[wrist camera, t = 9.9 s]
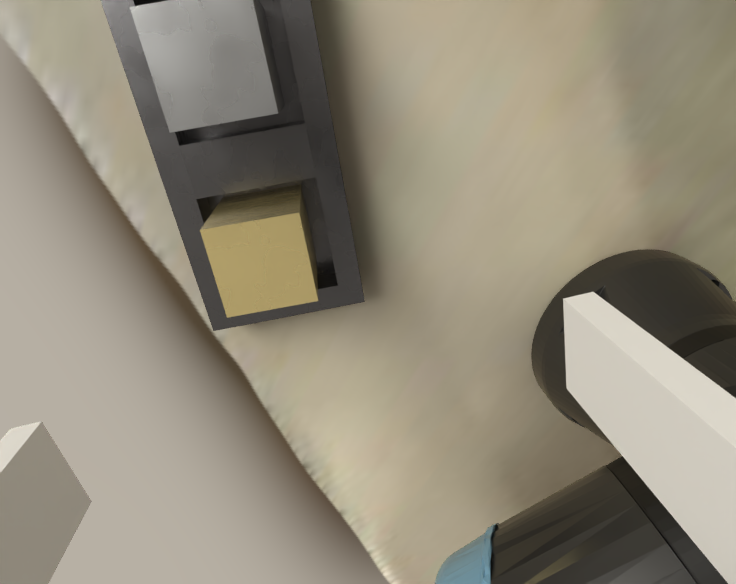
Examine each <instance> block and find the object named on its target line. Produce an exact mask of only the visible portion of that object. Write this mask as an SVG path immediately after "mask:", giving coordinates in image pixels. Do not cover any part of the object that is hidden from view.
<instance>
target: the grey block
mask: <svg viewBox="0 0 736 584" xmlns="http://www.w3.org/2000/svg"><path fill="white" fill-rule="evenodd" d="M130 10H131V13H132V16H133V20H134V23H135V26H136V29H137V32H138V35H139V38H140V41H141V44H142V48H143V51H144V54H145V57H146V60H147V63H148V66H149V69H150V72H151V76H152V79H153V82H154V85H155V88H156V91H157V94H158V97H159V100H160V104H161V107H162V110H163V113H164V116H165V119H166V122H167V125H168V129H169V132H170V133H171V132H177V131H182V130H188V129H194V128H199V127H205V126H210V125H216V124H222V123H227V122H233V121H239V120H244V119H250V118H256V117H261V116H267V115H272V114H278V113H279V112H280V111H281V110H282V108H283V107H284V106H285V102H284V98H283V93H282V88H281V84H280V79H279V75H278V70H277V65H276V61H275V56H274V52H273V47H272V42H271V38H270V33H269V29H268V24H267V19H266V15H265V10H264V8H263V6H262V4H261V3H260V1H259V0H168V1H162V2H157V3H151V4H145V5H139V6H133V7H130Z"/></svg>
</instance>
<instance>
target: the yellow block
mask: <svg viewBox="0 0 736 584" xmlns="http://www.w3.org/2000/svg"><path fill="white" fill-rule="evenodd" d="M200 232H201V236H202V239H203V242H204V245H205V248H206V252H207V255H208V258H209V261H210V264H211V268H212V271H213V274H214V277H215V280H216V284H217V287H218V290H219V293H220V297H221V300H222V303H223V306H224V309H225V313H226V316H227V318H228V317H234V316H239V315H245V314H250V313H255V312H261V311H266V310H272V309H277V308H283V307H288V306H294V305H299V304H305V303H310V302H315V301H318V283H317V259H316V253H315V248H314V243H313V238H312V233H311V229H310V224H309V219H308V214H307V209H306V205H305V200H304V195H303V190H302V185H301V184H298V185H292V186H286V187H281V188H275V189H269V190H263V191H258V192H252V193H246V194H240V195H234V196H229V197H223V198H222V199H221V201H220V202H219V204H218V205H217V206H216V208H215V209H214V211H213V212H212V213H211V215H210V216H209V218H208V219H207V220H206V222H205V223H204V225H203V226H202V228H201V229H200Z"/></svg>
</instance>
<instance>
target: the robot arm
mask: <svg viewBox="0 0 736 584" xmlns="http://www.w3.org/2000/svg"><path fill="white" fill-rule="evenodd" d="M532 366H533V371H534V375H535V377H536V380H537V382H538V384H539V386H540V387H541V389H542V390H543V392H544V393H545V394H546V396H547V397H548V398H549V400H550V401H551V402H552V404H553V405H554V406H555V407H556V408H557V409H558V410H559V411H560V412H561V413H562V414H563V415H564V416H565V417H567V418H568V419H570V420H571V421H573V422H575V423H577V424H579V425H580V426H583V427H585V428H587V429H589V430H590V431H592V432H593V433H595V434H596V435H598V436H599V437H601V438H602V439H604V440H605V441H607V442H609V443H610V444H612V445H613V446H615V448H616V449H617V450H618V451H619V452H620V454H621V455H622V457H620V458H618V459H617V460H615V461H613V462H611V463H610V464H608V465H606V466H603V467H601V468H599V469H598V470H596V471H594V472H592V473H590V474H589V475H587V476H585V477H583V478H581V479H580V480H578V481H576V482H574V483H573V484H571V485H569V486H567V487H565V488H564V489H562V490H560V491H558V492H556V493H555V494H553V495H551V496H549V497H547V498H546V499H544V500H542V501H540V502H538V503H537V504H535V505H533V506H531V507H529V508H528V509H526V510H524V511H522V512H520V513H519V514H517V515H515V516H513V517H512V518H510V519H508V520H506V521H504V522H503V523H501V524H499V523H497V524H494V525H492V526H491V527H488V528H487V530H486V533H485V534H483V535H481V536H480V537H478V538H477V539H475V540H474V541H472V542H470V543H469V544H467V545H466V546H464V547H463V548H461V549H459V550H458V551H456V552H455V553H453V554H452V555H451V556H449V557H448V558H447V559H446V560H445V562H444V563H443V564H442V566H441V568H440V570H439V572H438V574H437V577H436V581H435V584H736V302H734V301H733V300H732V298H731V295H730V294H729V292H728V290H727V289H726V288H725V286H724V285H723V284H722V283H721V282H720V281H719V279H718V278H717V277H715V276H714V275H713V274H712V273H710V272H709V271H708V270H706V269H705V268H703V267H701V266H700V265H697V264H695V263H693V262H691V261H689V260H687V259H685V258H683V257H681V256H679V255H676V254H674V253H670V252H666V251H661V250H636V251H629V252H625V253H621V254H618V255H614V256H612V257H609V258H606V259H604V260H602V261H600V262H598V263H596V264H594V265H592V266H591V267H589V268H587V269H586V270H584V271H583V272H581V273H580V274H578V275H577V276H576V277H575V278H573V279H572V280H571V281H570V282H569V283H567V284H566V285H565V286H564V287H563V288H562V289H561V290H560V292H559V293H558V294H557V295H556V296H555V297H554V299H553V300H552V301H551V303H550V304H549V306H548V307H547V309H546V310H545V312H544V314H543V315H542V317H541V319H540V322H539V324H538V326H537V329H536V332H535V335H534V339H533V344H532ZM90 503H91V500H90V498H89V496H88V495H87V493H86V492H85V490H84V489H83V487H82V485H81V484H80V482H79V480H78V479H77V477H76V476H75V474H74V473H73V471H72V469H71V468H70V466H69V465H68V463H67V461H66V460H65V458H64V457H63V455H62V453H61V452H60V450H59V449H58V447H57V445H56V444H55V442H54V441H53V439H52V437H51V436H50V434H49V433H48V431H47V429H46V428H45V426H44V425H43V423H42V422H37V423H33V424H29V425H25V426H21V427H16V428H12V429H10V430H9V431H8V432H7V434H6V435H5V436H4V437H3V438H2V439H1V440H0V584H48V583H49V581H50V579H51V577H52V575H53V573H54V572H55V570H56V568H57V566H58V564H59V562H60V560H61V558H62V556H63V555H64V553H65V551H66V549H67V547H68V545H69V543H70V541H71V539H72V537H73V536H74V534H75V532H76V530H77V528H78V526H79V524H80V522H81V520H82V518H83V517H84V514H85V513H86V511H87V509H88V507H89V505H90Z"/></svg>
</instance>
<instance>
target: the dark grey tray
mask: <svg viewBox="0 0 736 584" xmlns="http://www.w3.org/2000/svg"><path fill="white" fill-rule="evenodd" d="M162 1H168V0H101V3H102V6H103V9H104V12H105V15H106V17H107V20H108V23H109V26H110V29H111V32H112V35H113V38H114V41H115V44H116V47H117V50H118V53H119V56H120V58H121V61H122V64H123V67H124V70H125V73H126V76H127V79H128V82H129V85H130V88H131V91H132V94H133V97H134V99H135V102H136V105H137V108H138V111H139V114H140V117H141V120H142V123H143V126H144V129H145V132H146V135H147V138H148V140H149V143H150V146H151V149H152V152H153V155H154V158H155V161H156V164H157V167H158V170H159V173H160V176H161V178H162V181H163V184H164V187H165V190H166V193H167V196H168V199H169V202H170V205H171V208H172V211H173V214H174V217H175V219H176V222H177V225H178V228H179V231H180V234H181V237H182V240H183V243H184V246H185V249H186V252H187V255H188V258H189V260H190V263H191V266H192V269H193V272H194V275H195V278H196V281H197V284H198V287H199V290H200V293H201V296H202V299H203V301H204V304H205V307H206V310H207V313H208V316H209V319H210V322H211V325H212V328H213V331H216V330H221V329H226V328H231V327H236V326H242V325H247V324H252V323H257V322H262V321H267V320H273V319H278V318H283V317H288V316H293V315H298V314H304V313H309V312H314V311H319V310H324V309H330V308H335V307H340V306H345V305H350V304H355V303H361V302H365V301H364V295H363V290H362V284H361V279H360V273H359V268H358V262H357V257H356V251H355V245H354V240H353V234H352V229H351V223H350V218H349V212H348V207H347V201H346V195H345V190H344V184H343V179H342V173H341V168H340V162H339V157H338V151H337V146H336V140H335V134H334V129H333V123H332V118H331V112H330V107H329V101H328V96H327V90H326V84H325V79H324V73H323V68H322V62H321V57H320V51H319V46H318V40H317V34H316V29H315V23H314V18H313V12H312V7H311V1H310V0H259V1H260V3H261V4H262V6H263V8H264V10H265V15H266V19H267V24H268V29H269V33H270V38H271V42H272V47H273V52H274V56H275V61H276V65H277V70H278V75H279V79H280V84H281V88H282V93H283V98H284V102H285V106H284V107H283V108H282V110H281V111H280V112H279V113H278V114H272V115H267V116H261V117H256V118H250V119H244V120H239V121H233V122H227V123H222V124H216V125H210V126H205V127H199V128H194V129H188V130H182V131H177V132H171V133H170V132H169V129H168V125H167V122H166V119H165V116H164V113H163V110H162V107H161V104H160V100H159V97H158V94H157V91H156V88H155V85H154V82H153V79H152V76H151V72H150V69H149V66H148V63H147V60H146V57H145V54H144V51H143V48H142V44H141V41H140V38H139V35H138V32H137V29H136V26H135V23H134V20H133V16H132V13H131V10H130V7H133V6H139V5H145V4H151V3H157V2H162ZM298 184H301V185H302V190H303V195H304V200H305V205H306V209H307V214H308V219H309V224H310V229H311V233H312V238H313V243H314V248H315V253H316V259H317V283H318V301H315V302H310V303H305V304H299V305H294V306H288V307H283V308H277V309H272V310H266V311H261V312H255V313H250V314H245V315H239V316H234V317H228V318H227V316H226V313H225V309H224V306H223V303H222V300H221V297H220V293H219V290H218V287H217V284H216V280H215V277H214V274H213V271H212V268H211V264H210V261H209V258H208V255H207V252H206V248H205V245H204V242H203V239H202V236H201V232H200V229H201V228H202V226H203V225H204V223H205V222H206V220H207V219H208V218H209V216H210V215H211V213H212V212H213V211H214V209H215V208H216V206H217V205H218V204H219V202H220V201H221V199H222V198H223V197H229V196H234V195H240V194H246V193H252V192H258V191H263V190H269V189H275V188H281V187H286V186H292V185H298Z"/></svg>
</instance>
